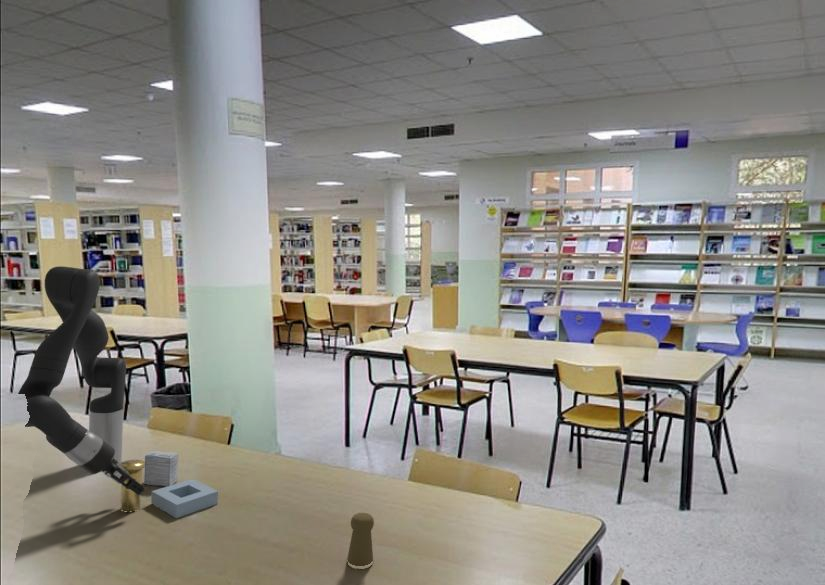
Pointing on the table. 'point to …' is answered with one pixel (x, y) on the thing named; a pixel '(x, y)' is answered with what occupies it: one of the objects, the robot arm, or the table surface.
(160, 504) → the jig
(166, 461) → the medicine box
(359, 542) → the cork
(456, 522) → the table surface
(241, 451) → the table surface
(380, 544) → the table surface
